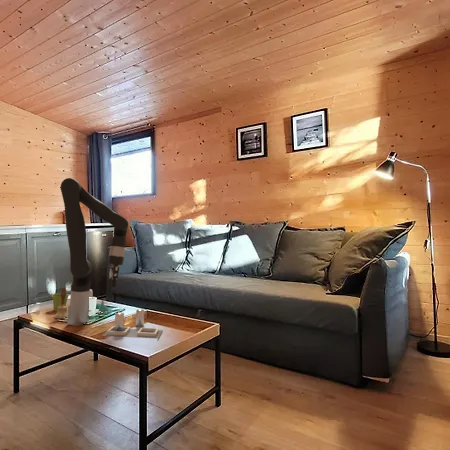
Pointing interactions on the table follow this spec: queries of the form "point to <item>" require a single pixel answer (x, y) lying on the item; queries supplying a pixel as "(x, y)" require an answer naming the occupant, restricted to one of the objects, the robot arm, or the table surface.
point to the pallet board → (134, 332)
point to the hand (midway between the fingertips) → (111, 286)
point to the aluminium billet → (140, 317)
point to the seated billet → (119, 321)
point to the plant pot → (58, 300)
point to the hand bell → (62, 306)
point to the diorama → (103, 307)
